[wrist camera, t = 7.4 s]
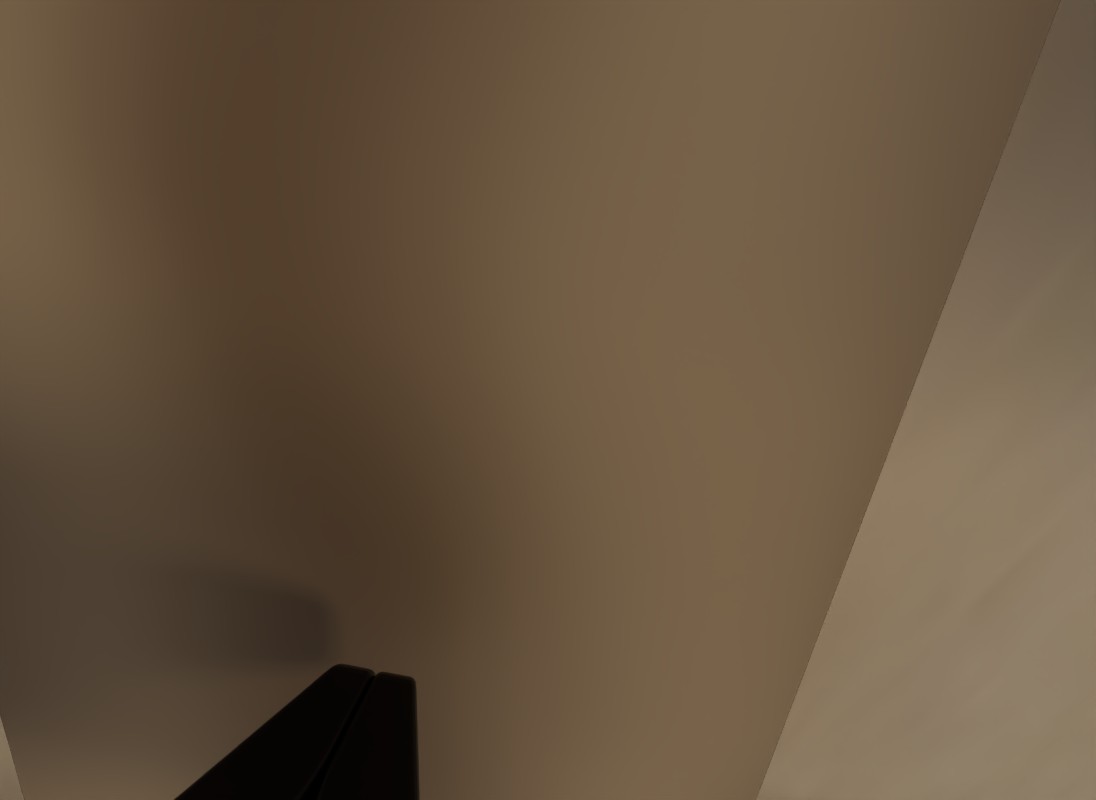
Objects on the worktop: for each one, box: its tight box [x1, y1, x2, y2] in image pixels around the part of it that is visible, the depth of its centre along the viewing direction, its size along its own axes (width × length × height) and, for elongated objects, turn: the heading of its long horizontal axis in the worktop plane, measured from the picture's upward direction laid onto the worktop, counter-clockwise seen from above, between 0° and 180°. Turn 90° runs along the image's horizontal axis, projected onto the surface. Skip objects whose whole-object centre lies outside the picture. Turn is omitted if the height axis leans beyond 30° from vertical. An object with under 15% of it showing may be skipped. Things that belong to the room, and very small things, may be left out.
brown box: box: [0, 0, 1061, 800], centre depth 11 cm, size 10×16×4 cm, turn 173°
